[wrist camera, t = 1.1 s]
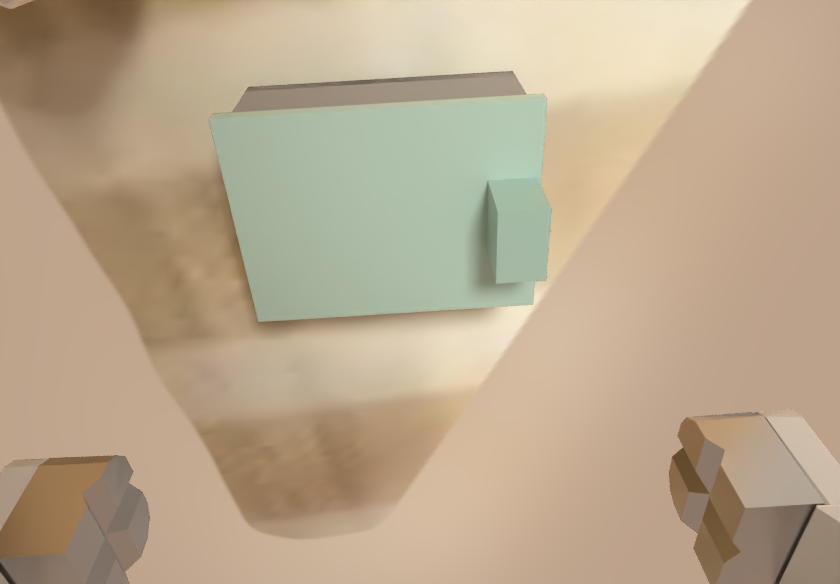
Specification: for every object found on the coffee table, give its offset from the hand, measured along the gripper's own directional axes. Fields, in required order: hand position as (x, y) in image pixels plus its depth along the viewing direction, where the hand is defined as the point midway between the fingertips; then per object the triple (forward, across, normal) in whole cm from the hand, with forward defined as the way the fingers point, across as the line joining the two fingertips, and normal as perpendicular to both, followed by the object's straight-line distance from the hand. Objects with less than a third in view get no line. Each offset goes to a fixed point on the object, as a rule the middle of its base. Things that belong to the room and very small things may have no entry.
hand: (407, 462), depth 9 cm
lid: (+24, +1, +8) cm, 25 cm away
